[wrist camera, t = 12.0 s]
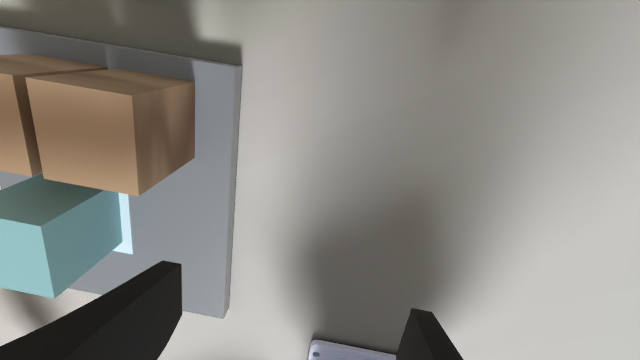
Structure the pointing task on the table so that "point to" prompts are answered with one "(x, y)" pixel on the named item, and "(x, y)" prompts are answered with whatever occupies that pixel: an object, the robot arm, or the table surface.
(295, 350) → the table surface
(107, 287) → the baseplate
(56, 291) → the teal block
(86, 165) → the walnut blocks
